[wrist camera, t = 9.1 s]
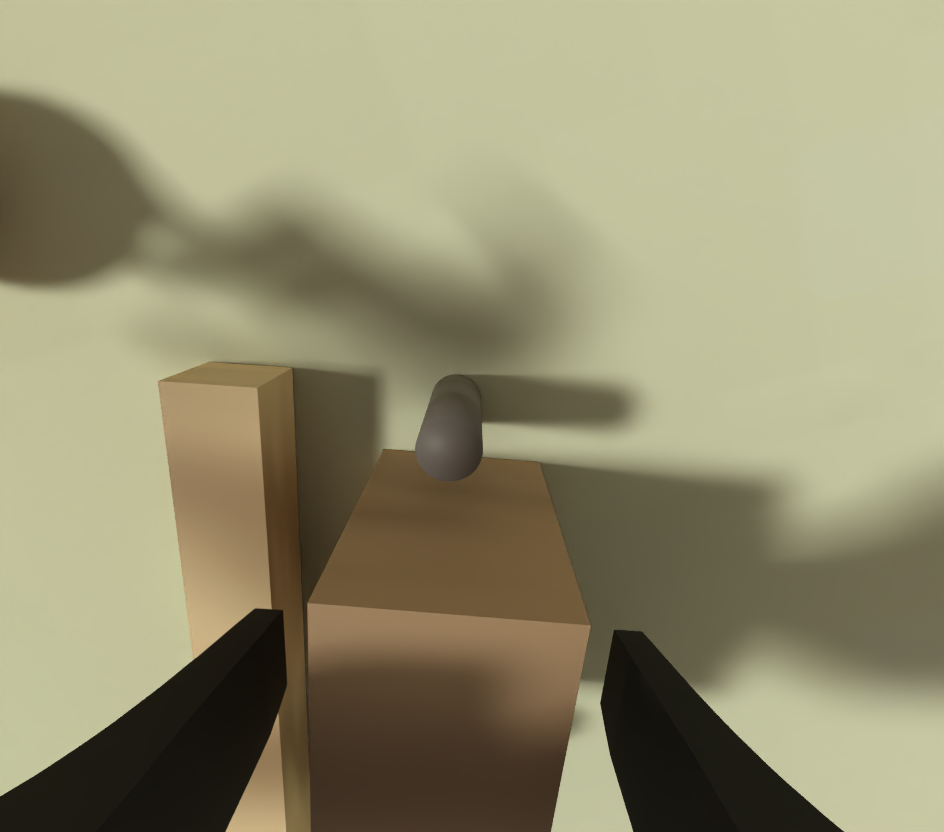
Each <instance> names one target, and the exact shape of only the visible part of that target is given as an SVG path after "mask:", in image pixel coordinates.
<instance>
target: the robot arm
mask: <svg viewBox="0 0 944 832" xmlns="http://www.w3.org/2000/svg"><path fill="white" fill-rule="evenodd" d="M286 688H287V669H286V651H285V634H284V616H283V610H277V609H260V608H255V609H253V610H252V611H251V612H250V613H249V614H247V615H246V616H245V617H244V618H243V619H241V620H240V621H239V622H238V623H237V624H235V625H234V626H233V627H232V628H231V629H229V630H228V631H227V632H226V633H225V634H224V635H222V636H221V637H220V638H219V639H218V640H217V641H215V642H214V643H213V644H212V645H211V646H209V647H208V648H207V649H206V650H205V651H204V652H202V653H201V654H200V655H199V656H198V657H196V658H195V659H194V660H193V661H192V662H190V663H189V664H188V665H187V666H185V667H184V668H183V669H182V670H181V671H179V672H178V673H177V674H176V675H174V676H173V677H172V678H171V679H170V680H168V681H167V682H166V683H165V684H163V685H162V686H161V687H160V688H158V689H157V690H156V691H154V692H153V693H152V694H150V695H149V696H148V697H146V698H145V699H144V700H143V701H141V702H140V703H139V704H137V705H136V706H135V707H133V708H132V709H131V710H129V711H128V712H127V713H125V714H124V715H123V716H122V717H120V718H119V719H118V720H116V721H115V722H114V723H112V724H111V725H109V726H108V727H107V728H105V729H104V730H102V731H101V732H100V733H98V734H97V735H95V736H94V737H92V738H91V739H89V740H88V741H87V742H85V743H84V744H82V745H81V746H79V747H78V748H76V749H75V750H73V751H72V752H70V753H69V754H67V755H66V756H64V757H63V758H61V759H60V760H58V761H57V762H55V763H54V764H52V765H51V766H49V767H48V768H46V769H45V770H43V771H41V772H40V773H38V774H37V775H35V776H34V777H32V778H30V779H29V780H27V781H25V782H24V783H22V784H20V785H19V786H17V787H15V788H14V789H12V790H10V791H9V792H7V793H5V794H4V795H2V796H0V832H226V830H227V828H228V825H229V823H230V821H231V819H232V817H233V815H234V813H235V810H236V808H237V806H238V804H239V802H240V800H241V798H242V796H243V793H244V791H245V789H246V787H247V785H248V783H249V781H250V778H251V776H252V774H253V772H254V770H255V768H256V765H257V763H258V761H259V759H260V757H261V755H262V752H263V750H264V748H265V746H266V744H267V741H268V739H269V737H270V735H271V732H272V729H273V726H274V723H275V720H276V718H277V715H278V712H279V709H280V706H281V703H282V700H283V697H284V694H285V691H286ZM600 704H601V709H602V715H603V720H604V726H605V731H606V736H607V741H608V746H609V751H610V756H611V759H612V763H613V766H614V769H615V773H616V776H617V779H618V783H619V786H620V789H621V793H622V796H623V799H624V802H625V806H626V809H627V812H628V815H629V819H630V822H631V825H632V828H633V832H844V831H842V830H841V829H840V828H839V827H838V826H836V825H835V824H834V823H833V822H831V821H830V820H829V819H828V818H827V817H826V816H824V815H823V814H822V813H821V812H820V811H819V810H817V809H816V808H815V807H814V806H813V805H812V804H811V803H809V802H808V801H807V800H806V799H805V798H804V797H803V796H801V795H800V794H799V793H798V792H797V791H796V790H795V789H793V788H792V787H791V786H790V785H789V784H788V783H787V782H786V781H784V780H783V779H782V778H781V777H780V776H779V775H778V774H777V773H776V772H775V771H774V770H773V769H771V768H770V767H769V766H768V765H767V764H766V763H765V762H764V761H763V760H762V759H761V758H760V757H759V756H758V755H757V754H756V753H755V752H754V751H753V750H752V749H751V748H750V747H749V746H748V745H747V744H746V743H745V742H744V741H743V740H742V739H740V738H739V737H738V736H737V735H736V734H735V733H734V732H733V730H732V729H731V728H730V727H729V726H728V725H727V724H726V723H725V722H724V721H723V720H722V719H721V718H720V717H719V716H718V715H717V714H716V713H715V712H714V711H713V710H712V709H711V708H710V707H709V706H708V704H707V703H706V702H705V701H704V700H703V699H702V698H701V697H700V696H699V695H698V694H697V693H696V692H695V690H694V689H693V688H692V687H691V686H690V685H689V684H688V683H687V682H686V681H685V679H684V678H683V677H682V676H681V675H680V674H679V673H678V672H677V670H676V669H675V668H674V667H673V666H672V665H671V664H670V663H669V661H668V660H667V659H666V658H665V657H664V656H663V655H662V654H661V652H660V651H659V650H658V649H657V648H656V647H655V646H654V644H653V643H652V642H651V641H650V640H649V639H648V638H647V637H646V636H645V634H644V633H643V632H641V631H625V630H614V633H613V638H612V644H611V649H610V654H609V660H608V665H607V670H606V676H605V681H604V686H603V692H602V697H601V702H600Z"/></svg>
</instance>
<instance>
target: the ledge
mask: <svg viewBox="0 0 944 832" xmlns="http://www.w3.org/2000/svg"><path fill="white" fill-rule="evenodd" d="M158 386H159V394H160V401H161V409H162V417H163V425H164V433H165V441H166V449H167V456H168V464H169V472H170V480H171V488H172V496H173V504H174V512H175V519H176V527H177V535H178V543H179V551H180V559H181V567H182V574H183V582H184V590H185V598H186V606H187V614H188V622H189V630H190V637H191V645H192V653H193V660H194V659H195V658H196V657H198V656H199V655H200V654H201V653H202V652H204V651H205V650H206V649H207V648H208V647H209V646H211V645H212V644H213V643H214V642H215V641H217V640H218V639H219V638H220V637H221V636H222V635H224V634H225V633H226V632H227V631H228V630H229V629H231V628H232V627H233V626H234V625H235V624H237V623H238V622H239V621H240V620H241V619H243V618H244V617H245V616H246V615H247V614H249V613H250V612H251V611H252V610H253V609H255V608H260V609H277V610H283V616H284V634H285V651H286V669H287V688H286V691H285V694H284V697H283V700H282V703H281V706H280V709H279V712H278V715H277V718H276V720H275V723H274V726H273V729H272V732H271V735H270V737H269V739H268V741H267V744H266V746H265V748H264V750H263V752H262V755H261V757H260V759H259V761H258V763H257V765H256V768H255V770H254V772H253V774H252V776H251V778H250V781H249V783H248V785H247V787H246V789H245V791H244V793H243V796H242V798H241V800H240V802H239V804H238V806H237V808H236V810H235V813H234V815H233V817H232V819H231V821H230V823H229V825H228V828H227V830H226V832H311V813H310V770H309V747H308V723H307V700H306V677H305V653H304V630H303V606H302V583H301V559H300V536H299V512H298V489H297V466H296V442H295V419H294V395H293V372H292V368H291V367H276V366H261V365H246V364H231V363H216V362H208V363H205V364H202V365H200V366H197V367H194V368H192V369H189V370H186V371H184V372H181V373H178V374H176V375H173V376H170V377H168V378H165V379H162V380H160V381H158ZM415 453H416V458H417V461H418V463H419V465H420V466H421V468H422V469H423V470H424V471H425V472H426V473H427V474H428V475H430V476H431V477H433V478H435V479H438V480H441V481H447V482H452V481H458V480H461V479H464V478H466V477H468V476H469V475H471V474H472V473H473V472H474V471H475V470H476V469H477V467H478V466H479V464H480V462H481V459H482V454H483V442H482V418H481V396H480V391H479V389H478V387H477V385H476V384H475V383H474V382H473V381H472V380H471V379H469V378H468V377H465V376H462V375H450V376H447V377H445V378H443V379H441V380H440V381H439V382H438V383H437V384H436V386H435V387H434V390H433V393H432V396H431V399H430V402H429V405H428V408H427V411H426V414H425V417H424V420H423V423H422V426H421V429H420V432H419V435H418V438H417V442H416V447H415Z"/></svg>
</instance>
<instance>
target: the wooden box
mask: <svg viewBox="0 0 944 832" xmlns="http://www.w3.org/2000/svg"><path fill="white" fill-rule="evenodd" d="M307 611H308V678H309V745H310V813H311V832H551V828H552V823H553V817H554V812H555V807H556V802H557V797H558V792H559V787H560V782H561V776H562V771H563V766H564V761H565V756H566V751H567V746H568V740H569V735H570V730H571V725H572V720H573V715H574V710H575V705H576V699H577V694H578V689H579V684H580V679H581V674H582V669H583V663H584V658H585V653H586V648H587V643H588V638H589V633H590V628H591V624H590V621H589V618H588V615H587V612H586V608H585V605H584V602H583V599H582V596H581V593H580V589H579V586H578V583H577V580H576V577H575V574H574V570H573V567H572V564H571V561H570V558H569V555H568V551H567V548H566V545H565V542H564V539H563V536H562V532H561V529H560V526H559V523H558V520H557V517H556V513H555V510H554V507H553V504H552V501H551V498H550V494H549V491H548V488H547V485H546V482H545V479H544V475H543V472H542V469H541V466H540V463H539V462H532V461H520V460H508V459H496V458H484V457H482V459H481V462H480V464H479V466H478V467H477V469H476V470H475V471H474V472H473V473H472V474H471V475H469V476H468V477H466V478H464V479H461V480H458V481H452V482H447V481H441V480H438V479H435V478H433V477H431V476H430V475H428V474H427V473H426V472H425V471H424V470H423V469H422V468H421V466H420V465H419V463H418V461H417V458H416V453H415V452H413V451H401V450H390V449H383V451H382V453H381V456H380V458H379V460H378V462H377V464H376V466H375V468H374V470H373V472H372V474H371V476H370V478H369V480H368V482H367V484H366V486H365V488H364V490H363V492H362V494H361V496H360V498H359V500H358V502H357V504H356V506H355V508H354V510H353V512H352V514H351V516H350V518H349V520H348V522H347V524H346V526H345V528H344V530H343V532H342V534H341V536H340V538H339V540H338V542H337V544H336V546H335V548H334V550H333V552H332V554H331V556H330V558H329V560H328V562H327V565H326V567H325V569H324V571H323V573H322V575H321V577H320V579H319V581H318V583H317V585H316V587H315V589H314V591H313V593H312V595H311V597H310V599H309V601H308V603H307Z"/></svg>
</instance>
